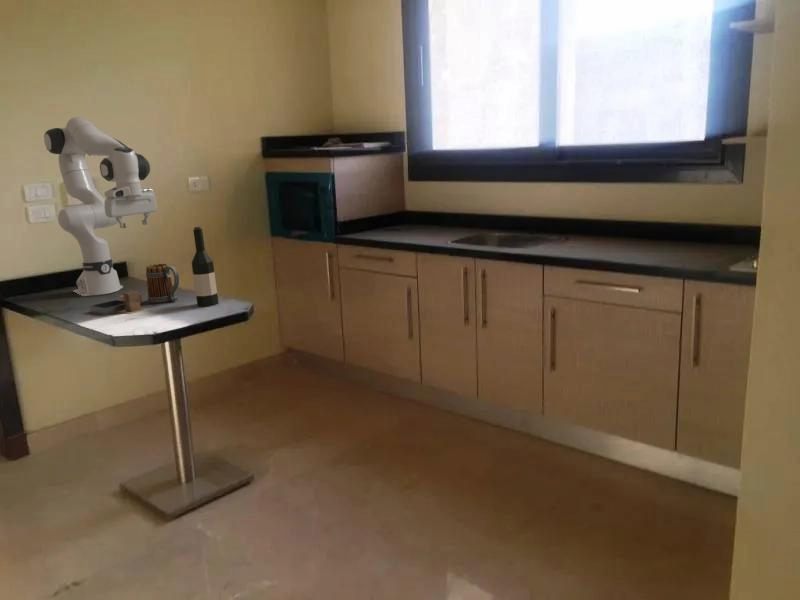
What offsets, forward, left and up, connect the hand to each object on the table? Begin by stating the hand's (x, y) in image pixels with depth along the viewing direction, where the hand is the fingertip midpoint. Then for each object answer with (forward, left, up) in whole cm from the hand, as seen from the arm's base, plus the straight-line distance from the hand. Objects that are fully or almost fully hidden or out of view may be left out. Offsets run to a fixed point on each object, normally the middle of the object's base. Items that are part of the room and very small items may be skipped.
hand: (134, 226), depth 262 cm
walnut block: (+9, -11, -30) cm, 34 cm away
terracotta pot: (-4, -4, -31) cm, 32 cm away
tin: (-1, -14, -31) cm, 34 cm away
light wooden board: (+9, -11, -31) cm, 34 cm away
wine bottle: (+27, +10, -31) cm, 43 cm away
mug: (+7, +5, -31) cm, 32 cm away
